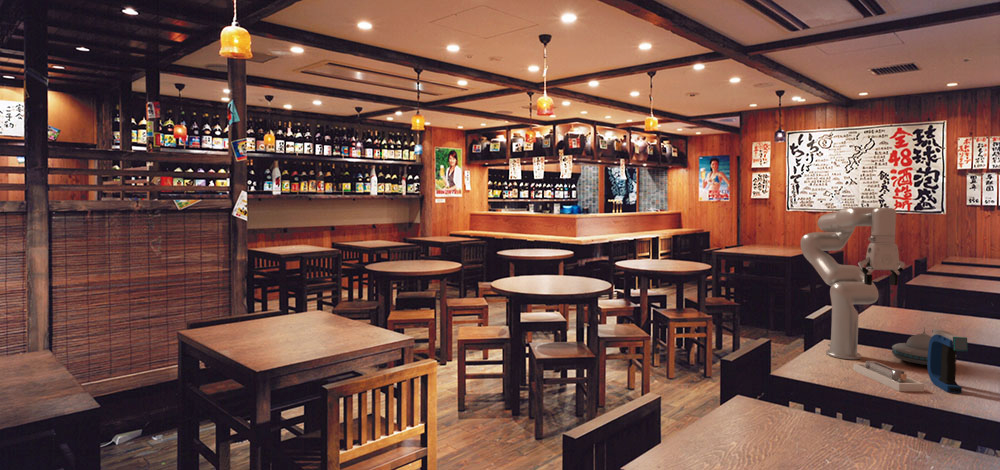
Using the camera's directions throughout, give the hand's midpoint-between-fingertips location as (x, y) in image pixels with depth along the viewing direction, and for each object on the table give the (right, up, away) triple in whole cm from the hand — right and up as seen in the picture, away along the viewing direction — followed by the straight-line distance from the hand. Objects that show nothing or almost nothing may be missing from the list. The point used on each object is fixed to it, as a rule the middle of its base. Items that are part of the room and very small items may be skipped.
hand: (880, 284), depth 205 cm
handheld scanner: (+10, -35, -18) cm, 40 cm away
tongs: (-5, -33, -10) cm, 35 cm away
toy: (+25, -33, +11) cm, 43 cm away
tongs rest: (-5, -34, -10) cm, 36 cm away
